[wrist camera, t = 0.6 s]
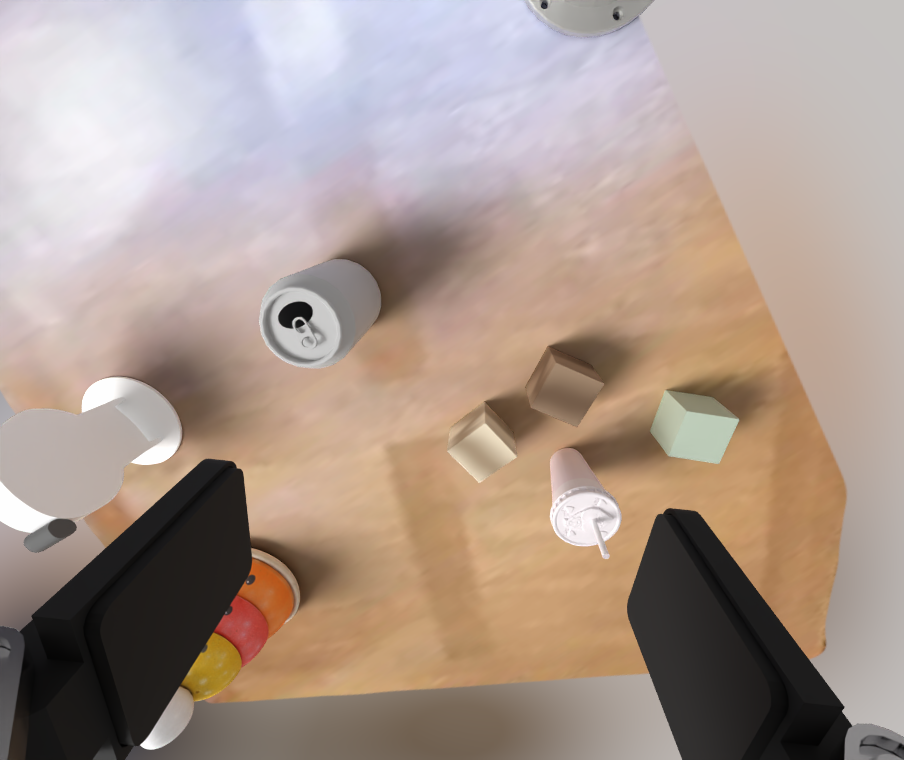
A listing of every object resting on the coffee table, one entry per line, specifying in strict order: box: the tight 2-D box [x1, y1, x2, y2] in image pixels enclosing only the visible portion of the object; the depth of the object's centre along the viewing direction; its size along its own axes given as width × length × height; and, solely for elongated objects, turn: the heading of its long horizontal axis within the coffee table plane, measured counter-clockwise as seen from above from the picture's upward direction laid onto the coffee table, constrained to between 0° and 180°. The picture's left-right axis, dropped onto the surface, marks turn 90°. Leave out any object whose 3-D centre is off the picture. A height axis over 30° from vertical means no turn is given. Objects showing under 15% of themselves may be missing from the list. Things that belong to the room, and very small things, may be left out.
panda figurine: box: [0, 377, 182, 552], centre depth 42 cm, size 12×11×15 cm
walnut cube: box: [525, 346, 604, 427], centre depth 42 cm, size 5×5×5 cm
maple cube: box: [447, 401, 517, 483], centre depth 45 cm, size 5×5×5 cm
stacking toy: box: [141, 548, 300, 749], centre depth 49 cm, size 14×14×20 cm
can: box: [259, 259, 381, 368], centre depth 37 cm, size 8×8×12 cm
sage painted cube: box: [650, 390, 739, 464], centre depth 43 cm, size 5×5×5 cm
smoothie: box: [550, 448, 621, 559], centre depth 42 cm, size 6×6×14 cm
